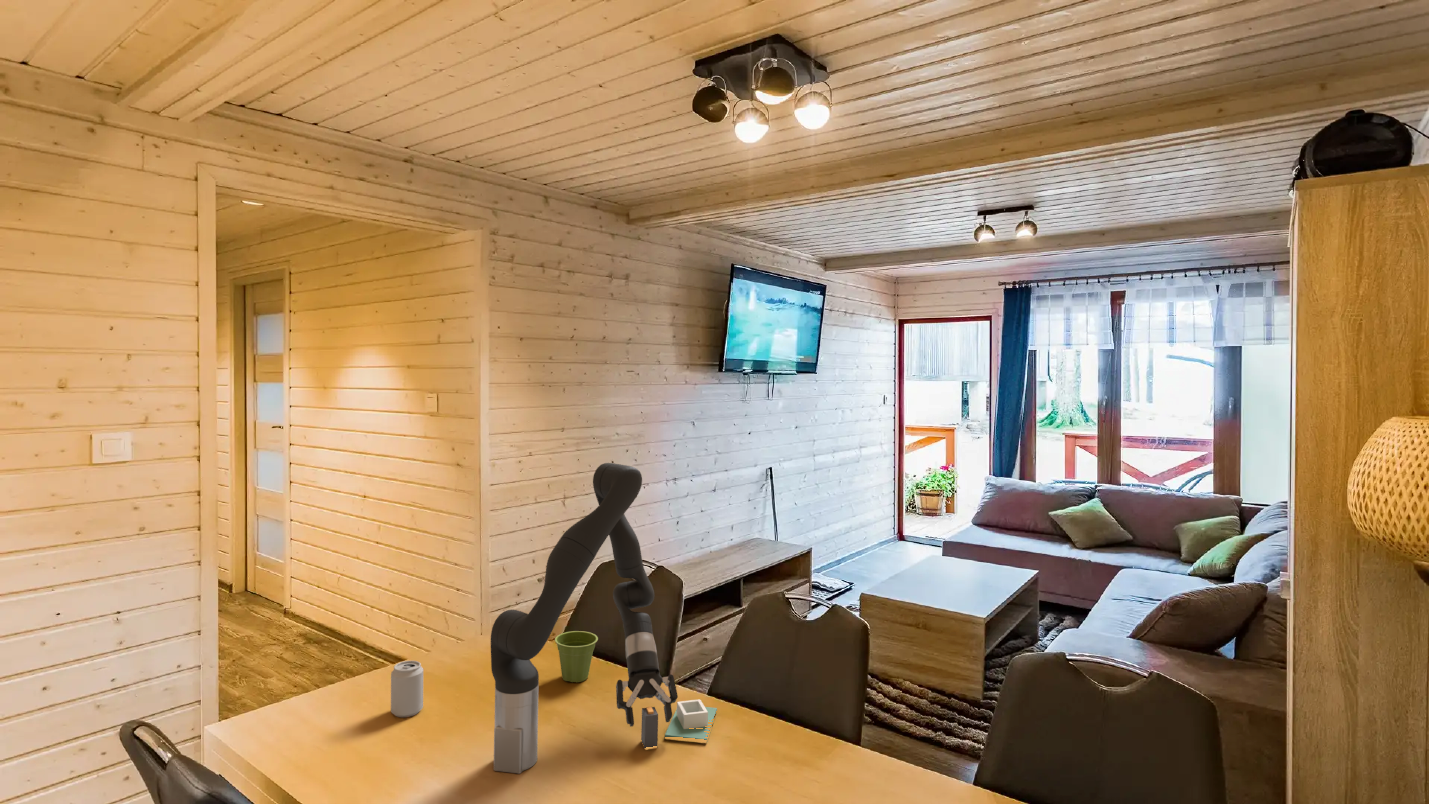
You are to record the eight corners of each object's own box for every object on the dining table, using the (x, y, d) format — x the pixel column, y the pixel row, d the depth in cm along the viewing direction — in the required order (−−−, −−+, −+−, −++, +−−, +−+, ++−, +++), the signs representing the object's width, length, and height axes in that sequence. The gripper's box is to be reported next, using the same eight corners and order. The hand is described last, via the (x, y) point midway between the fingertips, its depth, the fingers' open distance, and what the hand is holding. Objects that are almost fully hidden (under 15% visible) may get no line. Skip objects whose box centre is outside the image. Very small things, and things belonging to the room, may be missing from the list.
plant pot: (574, 691, 196) (574, 650, 196) (545, 678, 204) (545, 639, 203) (605, 676, 206) (606, 637, 205) (577, 665, 213) (577, 627, 212)
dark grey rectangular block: (657, 748, 168) (658, 712, 168) (644, 750, 167) (645, 714, 167) (653, 739, 172) (654, 704, 172) (641, 741, 171) (642, 706, 171)
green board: (706, 744, 171) (706, 739, 170) (664, 739, 172) (664, 734, 172) (716, 712, 186) (717, 708, 186) (678, 708, 188) (678, 704, 188)
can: (428, 706, 186) (429, 659, 185) (413, 720, 178) (414, 671, 178) (400, 703, 186) (401, 657, 186) (384, 717, 179) (384, 669, 178)
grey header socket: (707, 726, 177) (708, 712, 176) (683, 729, 175) (684, 715, 175) (699, 712, 183) (700, 699, 183) (676, 715, 182) (677, 701, 181)
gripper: (614, 651, 174) (622, 721, 164) (672, 646, 179) (683, 713, 168) (610, 664, 180) (617, 732, 169) (667, 659, 184) (677, 725, 174)
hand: (650, 723), depth 169 cm, fingers open, 8 cm apart
